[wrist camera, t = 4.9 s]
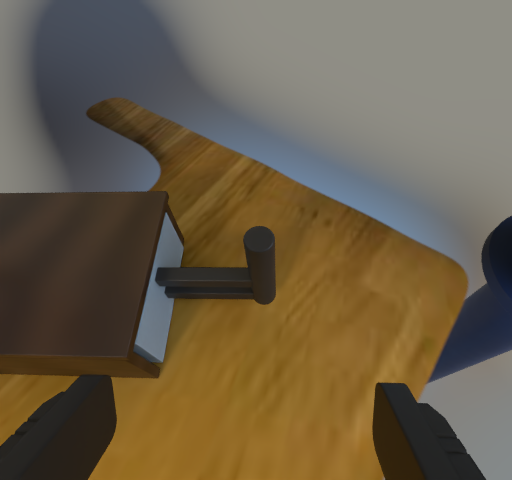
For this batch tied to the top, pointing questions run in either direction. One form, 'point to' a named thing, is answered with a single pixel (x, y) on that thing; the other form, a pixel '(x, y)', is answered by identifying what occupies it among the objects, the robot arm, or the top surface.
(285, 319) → the top surface
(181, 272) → the drawer
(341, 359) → the top surface
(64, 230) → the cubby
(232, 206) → the top surface
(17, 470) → the robot arm
